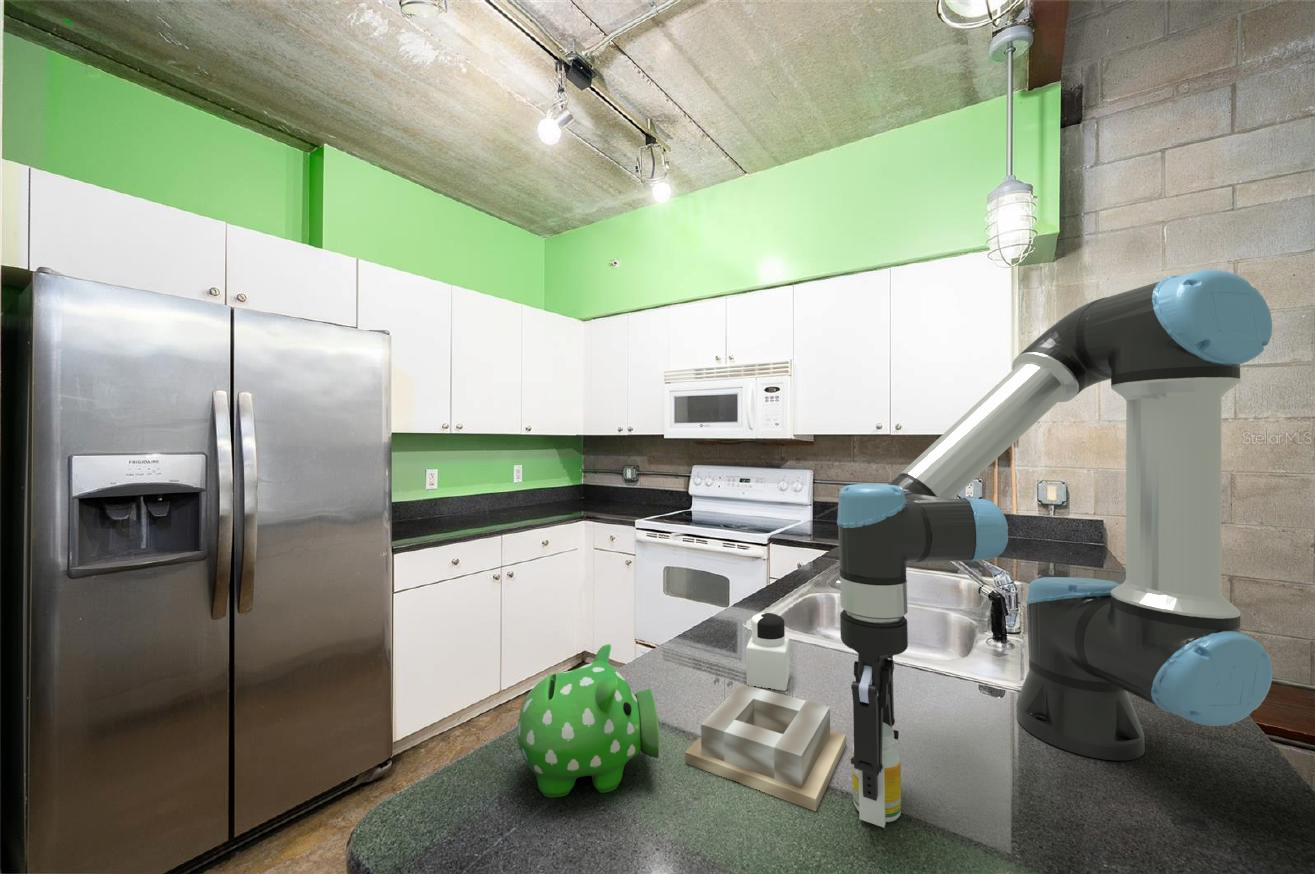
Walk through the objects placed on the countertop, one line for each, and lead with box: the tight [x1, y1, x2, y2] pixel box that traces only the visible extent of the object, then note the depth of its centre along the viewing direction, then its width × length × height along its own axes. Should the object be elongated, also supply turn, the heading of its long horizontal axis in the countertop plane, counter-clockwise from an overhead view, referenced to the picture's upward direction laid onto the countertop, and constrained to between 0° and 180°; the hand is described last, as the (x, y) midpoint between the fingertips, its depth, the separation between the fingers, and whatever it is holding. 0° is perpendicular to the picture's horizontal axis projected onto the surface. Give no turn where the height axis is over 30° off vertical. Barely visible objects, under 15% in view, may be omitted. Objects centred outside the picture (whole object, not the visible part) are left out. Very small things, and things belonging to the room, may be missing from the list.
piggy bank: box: [517, 643, 660, 798], centre depth 70 cm, size 14×18×15 cm
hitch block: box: [684, 683, 847, 812], centre depth 74 cm, size 18×16×6 cm
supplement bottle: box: [851, 723, 902, 823], centre depth 63 cm, size 5×5×10 cm
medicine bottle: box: [745, 612, 791, 692], centre depth 97 cm, size 7×7×12 cm
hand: (877, 804), depth 63 cm, fingers closed on supplement bottle, 5 cm apart
